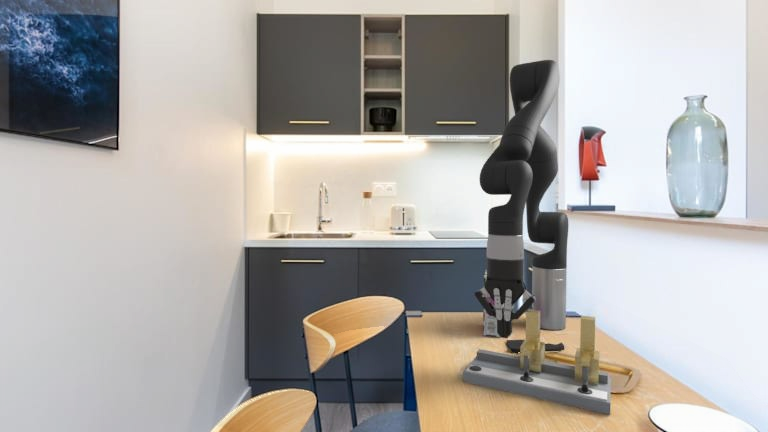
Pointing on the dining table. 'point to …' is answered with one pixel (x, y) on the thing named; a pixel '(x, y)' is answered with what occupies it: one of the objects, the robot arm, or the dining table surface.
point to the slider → (532, 344)
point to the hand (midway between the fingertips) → (504, 336)
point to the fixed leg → (587, 355)
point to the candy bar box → (489, 319)
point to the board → (538, 381)
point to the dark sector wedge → (516, 344)
